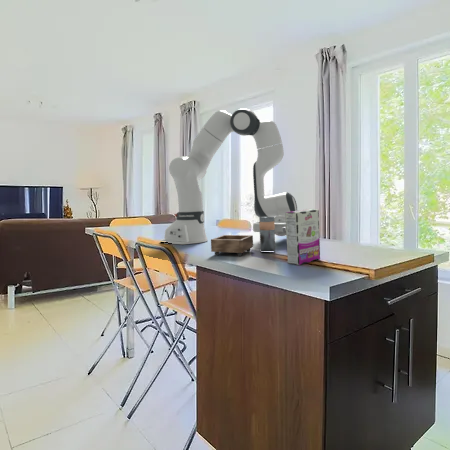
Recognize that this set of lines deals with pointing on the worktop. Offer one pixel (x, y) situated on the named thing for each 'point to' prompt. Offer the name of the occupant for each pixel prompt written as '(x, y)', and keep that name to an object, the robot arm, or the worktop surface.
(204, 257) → the worktop surface
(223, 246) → the caster cart
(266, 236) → the slate tin
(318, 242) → the candy bar box
